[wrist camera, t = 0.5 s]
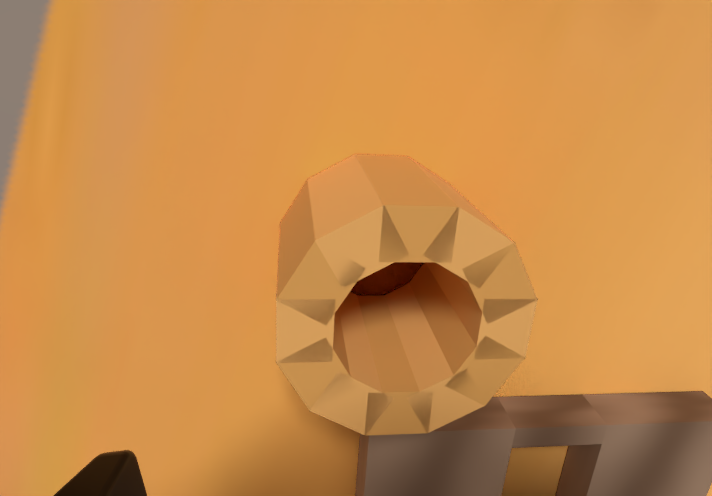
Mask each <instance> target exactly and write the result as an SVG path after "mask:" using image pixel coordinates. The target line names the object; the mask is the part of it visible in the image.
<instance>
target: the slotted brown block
mask: <svg viewBox="0 0 712 496" xmlns="http://www.w3.org/2000/svg"><path fill="white" fill-rule="evenodd" d="M568 445H569V447H568V451H567V455H566V458H565V462H564V466H563V470H562V473H561V477H560V481H559V485H558V489H557V492H556V496H706V495H707V493H708V490H709V488H710V485H711V483H712V399H711V398H710V397H709V396H708V395H707V394H706V393H704V392H703V391H691V392H656V393H621V394H585V395H550V396H514V397H492V398H491V399H490V400H489V402H488V403H487V404H486V405H485V406H484V407H481V408H479V409H477V410H475V411H473V412H471V413H469V414H467V415H465V416H463V417H461V418H458V419H456V420H454V421H452V422H450V423H448V424H446V425H444V426H442V427H440V428H438V429H435V430H433V431H431V432H429V433H421V434H394V435H367V436H365V435H363V434H360V441H359V454H358V467H357V480H356V493H355V496H501V495H502V490H503V486H504V481H505V476H506V472H507V467H508V462H509V458H510V453H511V448H521V447H544V446H568Z"/></svg>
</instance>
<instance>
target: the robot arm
mask: <svg viewBox="0 0 712 496" xmlns="http://www.w3.org/2000/svg"><path fill="white" fill-rule="evenodd" d="M54 496H147V494H146V490H145V486H144V483H143V479H142V476H141V472H140V469H139V465H138V462H137V458H136V456H135V454H134V453H133V452H132V451H129V450H124V451H116V452H107V453H103V454H100V455H98V456H97V457H96V458H94V459H93V460H92V461H91V462H90V463H89V464H88V465H87V466H85V467H84V468H83V469H82V470H81V471H80V472H79V473H78V474H77V475H76V476H74V477H73V478H72V479H71V480H70V481H69V482H68V483H67V484H66V485H65V486H63V487H62V488H61V489H60V490H59V491H58V492H57V493H56V494H55V495H54Z"/></svg>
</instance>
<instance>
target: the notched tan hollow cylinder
mask: <svg viewBox="0 0 712 496" xmlns="http://www.w3.org/2000/svg"><path fill="white" fill-rule="evenodd" d="M394 262H424V263H423V264H422V266H421V267H420V269H419V270H418V271H417V273H416V274H415V275H414V277H413V278H412V279H411V281H410V282H409V283H408V284H406V285H404V286H402V287H400V288H398V289H396V290H394V291H392V292H390V293H388V294H386V295H362V296H357V295H355V294H353V293H351V292H350V291H351V289H352V288H353V287H354V285H355V284H356V282H357V281H359V280H361V279H363V278H365V277H367V276H369V275H371V274H372V273H374V272H376V271H378V270H380V269H382V268H384V267H386V266H388V265H390V264H392V263H394ZM537 300H538V299H537V297H536V294H535V292H534V289H533V287H532V284H531V282H530V279H529V277H528V274H527V272H526V269H525V267H524V264H523V262H522V259H521V257H520V254H519V252H518V249H517V247H516V244H515V242H514V241H512V240H511V239H510V238H509V237H508V236H507V235H506V234H505V233H504V232H503V231H501V230H500V229H499V228H498V227H497V226H496V225H495V224H494V223H493V222H491V221H490V220H489V219H488V218H487V217H486V216H485V215H484V214H483V213H482V212H480V211H479V210H478V209H477V208H476V207H475V206H474V205H473V204H472V203H470V202H469V201H468V200H467V199H466V198H465V197H464V196H463V195H462V194H461V193H459V192H458V191H457V190H456V189H455V188H454V187H453V186H452V185H451V184H449V183H448V182H446V181H445V180H443V179H442V178H440V177H439V176H437V175H436V174H434V173H433V172H431V171H430V170H428V169H427V168H425V167H424V166H422V165H421V164H419V163H418V162H416V161H414V160H413V159H411V158H410V157H408V156H392V155H363V154H354V155H353V156H351V157H349V158H347V159H345V160H343V161H341V162H339V163H337V164H335V165H334V166H332V167H330V168H328V169H326V170H324V171H322V172H320V173H318V174H316V175H315V176H313V177H311V178H309V179H307V181H306V182H305V184H304V186H303V187H302V189H301V190H300V192H299V194H298V195H297V197H296V198H295V200H294V202H293V203H292V205H291V206H290V208H289V209H288V211H287V213H286V214H285V216H284V217H283V219H282V221H281V222H280V234H279V253H278V272H277V291H276V363H277V365H278V366H279V367H280V369H281V370H282V372H283V373H284V375H285V376H286V378H287V379H288V380H289V382H290V383H291V385H292V386H293V388H294V389H295V390H296V392H297V393H298V395H299V396H300V398H301V399H302V401H303V402H304V403H305V405H306V406H307V408H308V409H309V411H311V412H313V413H315V414H318V415H320V416H322V417H324V418H327V419H329V420H331V421H333V422H336V423H338V424H340V425H342V426H345V427H347V428H349V429H351V430H354V431H356V432H358V433H360V434H363V435H365V436H367V435H394V434H421V433H429V432H431V431H433V430H435V429H438V428H440V427H442V426H444V425H446V424H448V423H450V422H452V421H454V420H456V419H458V418H461V417H463V416H465V415H467V414H469V413H471V412H473V411H475V410H477V409H479V408H481V407H484V406H485V405H486V404H487V403H488V402H489V400H490V399H491V398H492V397H493V396H494V395H495V393H496V392H497V391H498V390H499V389H500V387H501V386H502V385H503V384H504V383H505V382H506V380H507V379H508V378H509V377H510V376H511V374H512V373H513V372H514V371H515V370H516V369H517V367H518V366H519V365H520V364H521V363H522V361H523V360H524V359H525V357H526V352H527V347H528V343H529V338H530V333H531V328H532V324H533V319H534V314H535V309H536V304H537Z"/></svg>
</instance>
